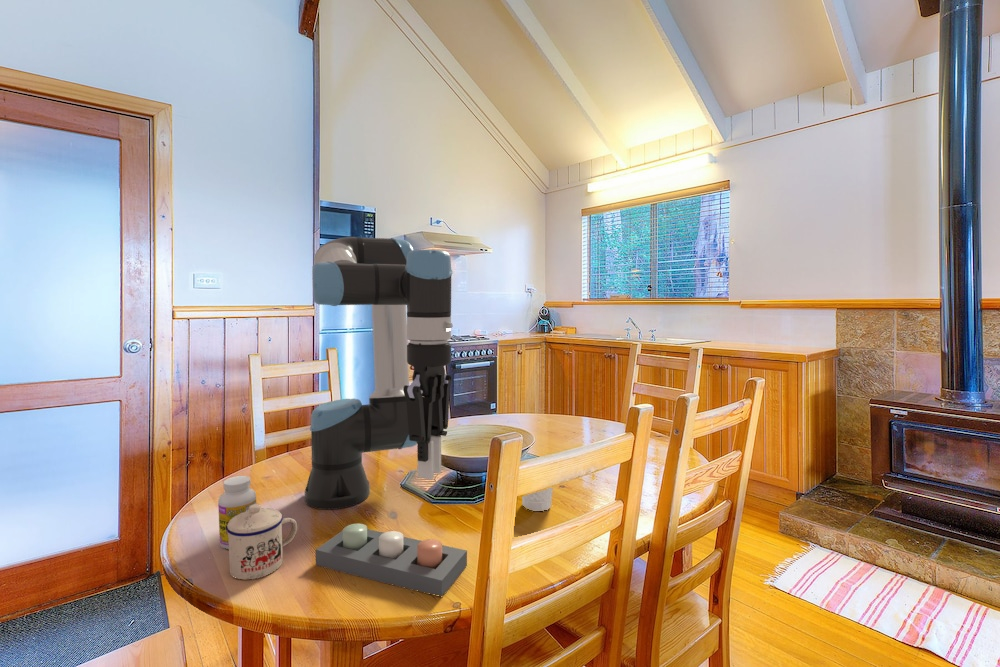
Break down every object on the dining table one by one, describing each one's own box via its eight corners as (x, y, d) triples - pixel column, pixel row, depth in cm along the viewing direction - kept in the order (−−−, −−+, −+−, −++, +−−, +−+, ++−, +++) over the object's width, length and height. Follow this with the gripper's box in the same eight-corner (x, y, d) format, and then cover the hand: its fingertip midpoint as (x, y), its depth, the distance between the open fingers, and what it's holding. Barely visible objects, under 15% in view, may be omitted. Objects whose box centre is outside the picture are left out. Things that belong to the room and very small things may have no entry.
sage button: (338, 550, 91) (337, 532, 91) (352, 539, 95) (352, 522, 95) (357, 555, 89) (357, 536, 89) (371, 543, 93) (371, 526, 93)
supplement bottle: (211, 548, 95) (208, 484, 94) (237, 532, 101) (234, 472, 100) (241, 553, 93) (238, 488, 92) (265, 536, 100) (262, 475, 99)
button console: (315, 565, 89) (315, 549, 89) (350, 539, 99) (350, 525, 98) (441, 597, 80) (441, 580, 80) (466, 565, 90) (467, 550, 89)
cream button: (374, 559, 88) (373, 540, 88) (387, 547, 92) (387, 529, 92) (395, 564, 87) (394, 545, 86) (408, 551, 91) (407, 533, 90)
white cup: (551, 515, 110) (552, 472, 110) (517, 511, 112) (518, 469, 111) (554, 500, 118) (555, 460, 117) (522, 497, 120) (523, 458, 119)
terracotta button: (412, 568, 85) (412, 549, 85) (425, 555, 89) (425, 537, 89) (434, 573, 84) (434, 554, 83) (446, 560, 88) (446, 541, 88)
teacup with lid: (239, 588, 82) (236, 522, 81) (221, 567, 89) (218, 505, 87) (307, 560, 91) (306, 500, 90) (287, 542, 97) (285, 486, 96)
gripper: (426, 347, 75) (427, 495, 77) (467, 338, 89) (467, 463, 91) (385, 345, 77) (386, 488, 79) (431, 336, 91) (431, 458, 94)
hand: (429, 474), depth 85 cm, fingers open, 2 cm apart
